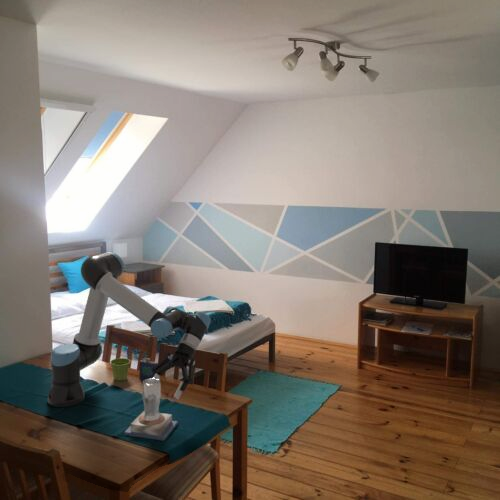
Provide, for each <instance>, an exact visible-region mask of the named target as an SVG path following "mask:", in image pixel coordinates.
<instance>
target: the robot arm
mask: <svg viewBox="0 0 500 500" xmlns="http://www.w3.org/2000/svg"><path fill="white" fill-rule="evenodd" d="M124 269H125V263H124V261H123V260H122V258H121V256H120V255H119V254H117V253H115V252H111V251H109V252H103V253H101V254H97V255H92V256H89V257H87V258H86V259H84V261H83V262H82V263H81V265H80V275H81V278H82V280H83V282H85V284H86V285H88V286H89V287H90V288H89V292H88V296H87V300H86V303H85V308H84V312H83V316H82V319H81V324H80V328H79V331H78V333H75V334H74V337H73V341H72V343H64V344H60V345H58V346H55V347H54V348H53V349H52V351H51V354H50V367H51V368H50V369H51V371H50V374H51V375H50V376H51V385H50V388H49V392H48V395H47V403H48V405H50V406H51V407H55V408H57V407H58V408H68V407H74V406H77V405H78V404H81V403H82V402H84V400H85V395H86V394H85V390H84V388H83V386H82V383H81V371H82V370H84V369H86V368H87V367H90V366H91V365H93V364H95V363H96V362H97V361H98V360H99V359H100V358H101V357H102V353H103V345H101V344H102V343H101V341H102V340H101V338H100V337H99V336H100V331H101V327H102V323H103V320H104V317H105V313H106V310H107V309H106V308H107V304H108V301H109V299H110V300H111V301H113V302H115V303H116V304H117V305H119V306H120V307H121V308H122V309H124V310H126V311H127V312H128V313H130V314H131V315H133V316H134V317H136V318H137V319H139V320H140V321H141V322H142V323H143V324H145V325H147V326H148V327H150V332H151V334H152V335H153V337H155V338H157V339H163V338H166V337H168V336H170V335H171V334H172V333H173V332H175V331H177V330H181V331H183V332H184V334H183V336H182V337H181V339H180V341H179V343H178V345H177V346H176V349H175V352H174V354H171V352H167V354H166V355H165V357H164V358H162V359H161V360H160V361H159V362H157V363H158V364H157V365H156V366H155V367H154V368H152V371H153V372H154V375H153V377H152V378H156V379H159V380H160V378H161V375H162V374H164V373H166V372H167V371H168V370H170V369H171V368H172V369H173V368H178V369H180V370H181V374H182V380H181V381H180V383H179V385H178V387H177V388H176V391H175V392H174V394H173V397H174V398H175V399H176V400H180V397H181V396H182V393H184V392H185V391H186V389H187V386H188V385H194V378H195V366H196V364H197V362H196V361H195V359H193V357H194V356H195V354H196V351H197V349H198V348H199V346H200V344H201V342H202V339H203V338H204V336H205V335H206V333H207V331H208V329H209V326H210V324H211V322H212V320H211V317H210V316H209V315H208V314H206V313H204V311H203V312H202V311H196V312H195V313H194V314H192V313H188V312H186V311H184V310H182V309H179V308H178V307H174V306H170V305H169V306H166V308H165V309H164V311H163V312H162V311H160V310H159V309H158V308H156V307H155V306H153V305H152V304H151V303H150V302H148V301H147V300H145V299H144V298H142V296H140V295H139V294H137V293H136V292H134V291H133V290H132V289H130V288H129V287H127V286H126V285H125V284H123V283H122V282H121V281H119V280H118V278H119V277H120V276H121V275H122V274H123V273H124ZM187 366H188V367H187Z"/></svg>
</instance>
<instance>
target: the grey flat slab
mask: <svg viewBox="0 0 500 500" xmlns="http://www.w3.org/2000/svg"><path fill="white" fill-rule="evenodd" d="M178 423H179V421H177V420H172V422H171V424H170V425H169V426H168V427H167V428H166V430H165V431H164V432H163V433H162V434H161V435H160V436H159V435H152V434H145V433H137V432H131V425H130V426H129V427H128V428H127V429H125V431H124V436H129V437H135V438H136V437H138V438H141V439H142V438H143V439H148V440H149V439H150V440H158V441H162V442H163V441H165V440H166V439H167V438H168V437H169V436H170V434H171V433H172V432H173V431H174V429H176V427H177V426H178Z"/></svg>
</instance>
